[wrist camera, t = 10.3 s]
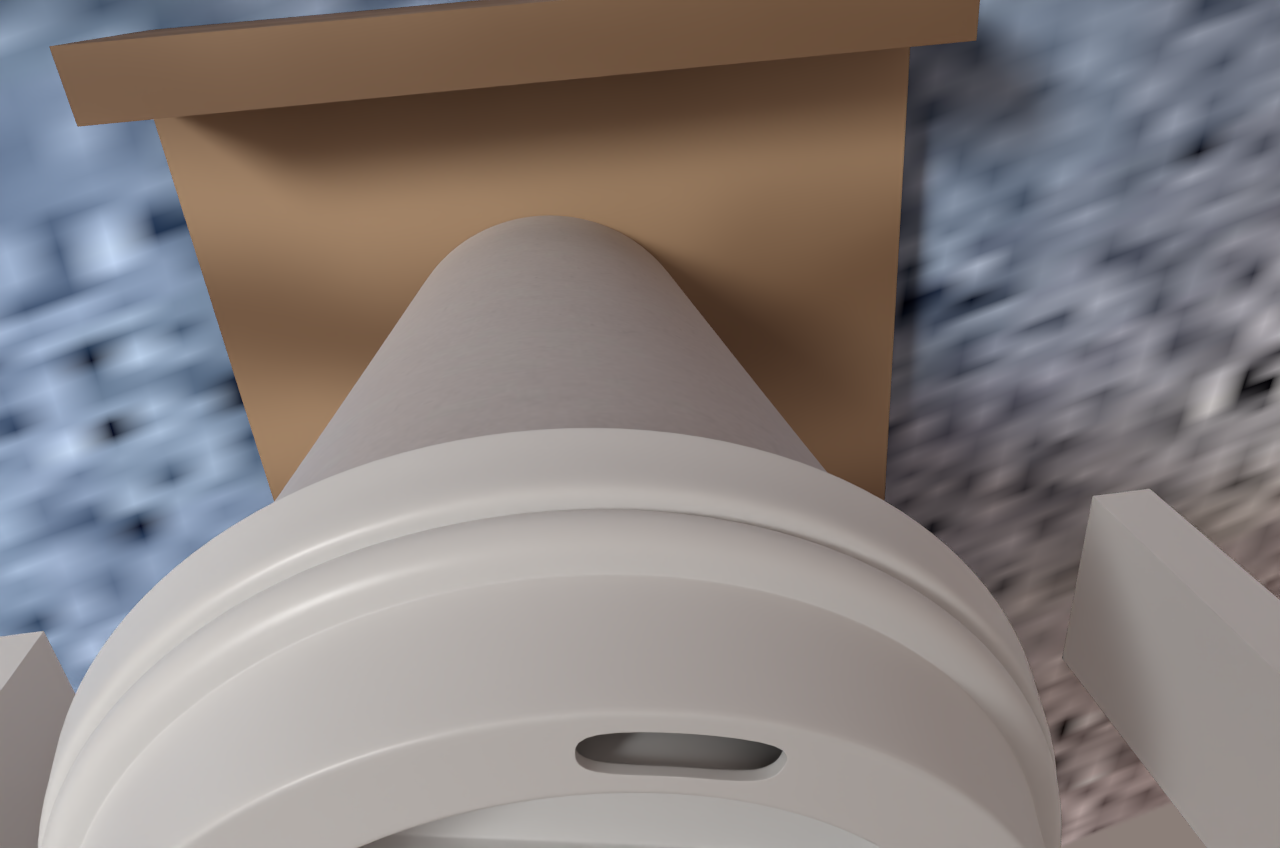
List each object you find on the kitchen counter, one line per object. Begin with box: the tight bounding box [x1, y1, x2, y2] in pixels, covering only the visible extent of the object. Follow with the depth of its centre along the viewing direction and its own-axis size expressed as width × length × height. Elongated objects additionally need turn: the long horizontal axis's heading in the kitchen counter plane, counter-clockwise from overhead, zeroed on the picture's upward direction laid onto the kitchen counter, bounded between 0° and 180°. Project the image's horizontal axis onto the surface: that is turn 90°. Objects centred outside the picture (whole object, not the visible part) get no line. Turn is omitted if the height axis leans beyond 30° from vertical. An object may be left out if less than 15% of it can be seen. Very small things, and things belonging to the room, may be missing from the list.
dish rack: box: [49, 0, 980, 501], centre depth 19 cm, size 26×15×12 cm, turn 5°
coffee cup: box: [38, 215, 1062, 848], centre depth 14 cm, size 10×10×15 cm
